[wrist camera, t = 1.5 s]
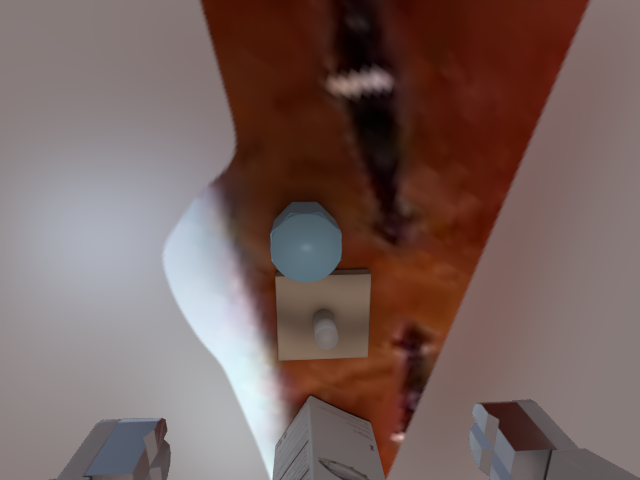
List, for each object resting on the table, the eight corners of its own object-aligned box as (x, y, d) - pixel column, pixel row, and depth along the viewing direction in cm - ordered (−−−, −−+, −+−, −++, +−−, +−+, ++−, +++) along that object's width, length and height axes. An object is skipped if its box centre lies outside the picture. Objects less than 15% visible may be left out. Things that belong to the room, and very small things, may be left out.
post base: (276, 271, 30) (272, 293, 26) (368, 269, 30) (380, 290, 26) (279, 352, 32) (276, 385, 28) (365, 349, 33) (375, 380, 28)
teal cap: (273, 202, 28) (268, 214, 24) (334, 201, 29) (342, 213, 24) (275, 260, 30) (271, 283, 25) (334, 259, 30) (341, 281, 25)
